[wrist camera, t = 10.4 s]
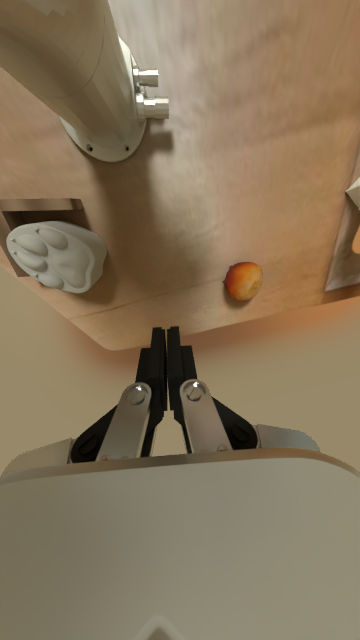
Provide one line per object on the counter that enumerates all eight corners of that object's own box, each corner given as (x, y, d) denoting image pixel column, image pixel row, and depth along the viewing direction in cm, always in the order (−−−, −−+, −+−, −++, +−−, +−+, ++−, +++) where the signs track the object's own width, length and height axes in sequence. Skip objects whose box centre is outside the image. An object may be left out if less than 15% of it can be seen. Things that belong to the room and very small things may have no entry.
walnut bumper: (80, 199, 30) (69, 198, 27) (98, 267, 37) (92, 274, 34) (-3, 200, 30) (-24, 199, 27) (31, 270, 36) (17, 276, 33)
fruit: (220, 255, 36) (253, 268, 31) (244, 256, 40) (275, 267, 35) (210, 291, 40) (237, 308, 35) (232, 288, 45) (259, 303, 39)
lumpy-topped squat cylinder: (100, 285, 39) (85, 303, 32) (34, 262, 36) (0, 276, 28) (110, 238, 34) (94, 247, 27) (34, 206, 31) (-7, 206, 23)
